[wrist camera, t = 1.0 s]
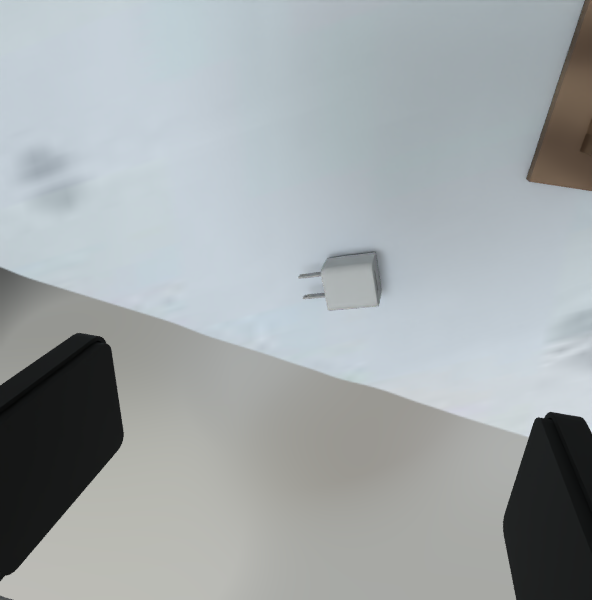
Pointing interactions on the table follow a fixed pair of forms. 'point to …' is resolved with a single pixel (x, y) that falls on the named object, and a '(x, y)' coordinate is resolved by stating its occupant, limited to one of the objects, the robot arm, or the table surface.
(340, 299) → the usb wall charger
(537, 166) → the holder
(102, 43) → the table surface
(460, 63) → the table surface
